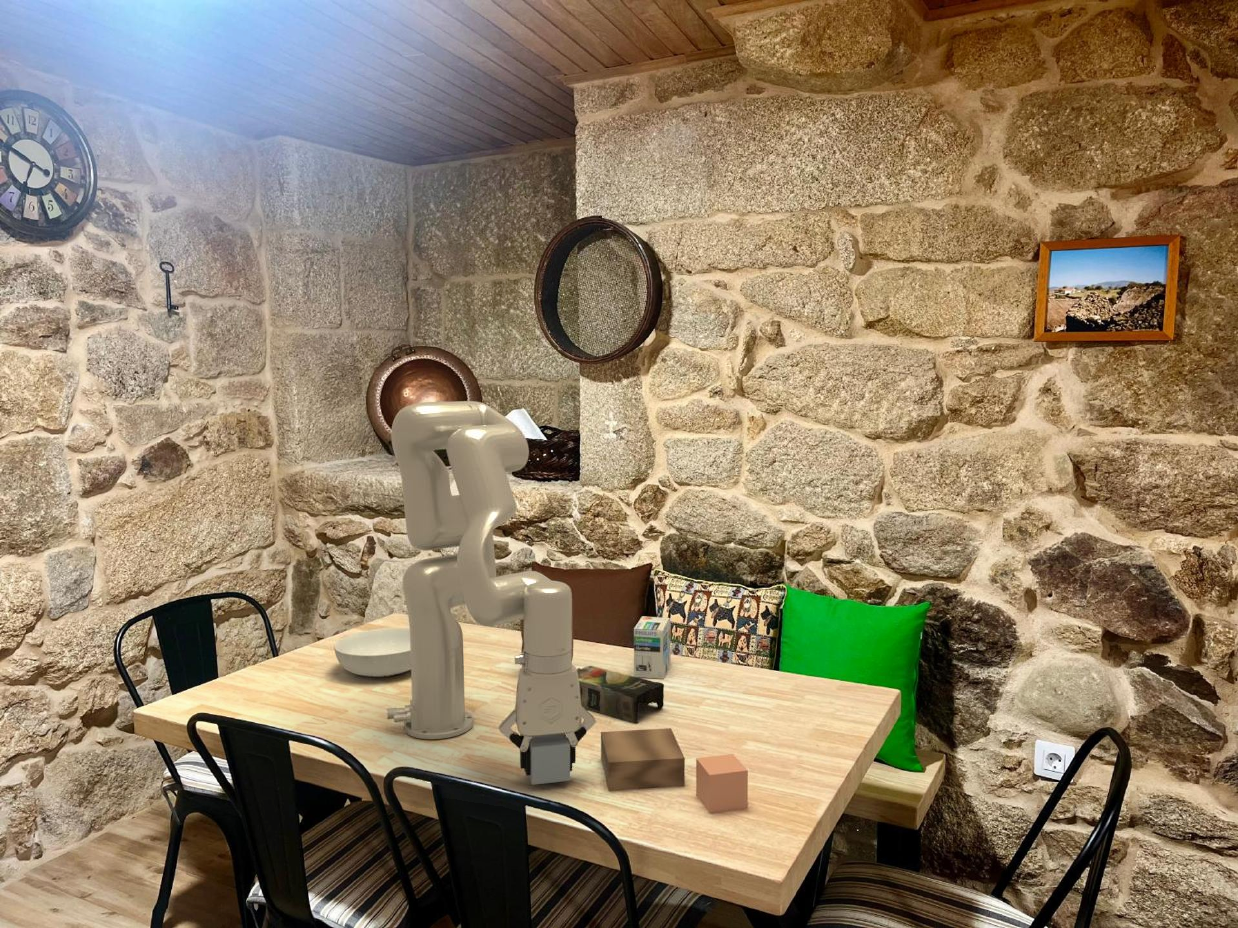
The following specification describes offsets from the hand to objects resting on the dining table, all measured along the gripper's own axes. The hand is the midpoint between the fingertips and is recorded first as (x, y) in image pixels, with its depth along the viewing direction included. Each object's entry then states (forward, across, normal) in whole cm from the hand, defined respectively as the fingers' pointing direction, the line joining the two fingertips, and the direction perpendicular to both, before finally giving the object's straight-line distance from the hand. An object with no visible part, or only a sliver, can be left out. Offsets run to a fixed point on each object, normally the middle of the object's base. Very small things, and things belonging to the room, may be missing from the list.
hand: (547, 768), depth 143 cm
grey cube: (+1, 0, 0) cm, 1 cm away
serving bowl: (+4, -26, +63) cm, 69 cm away
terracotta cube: (+2, +24, -14) cm, 28 cm away
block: (+3, +8, +50) cm, 51 cm away
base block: (+2, +15, -1) cm, 15 cm away
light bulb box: (+3, +31, +47) cm, 57 cm away
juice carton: (+3, +18, +30) cm, 35 cm away
